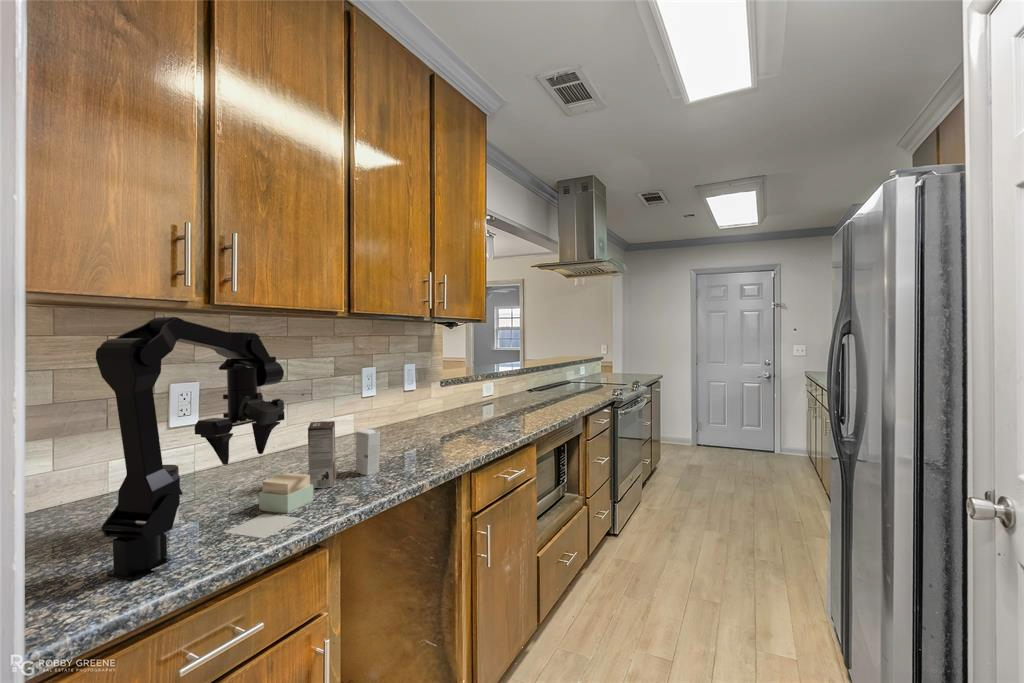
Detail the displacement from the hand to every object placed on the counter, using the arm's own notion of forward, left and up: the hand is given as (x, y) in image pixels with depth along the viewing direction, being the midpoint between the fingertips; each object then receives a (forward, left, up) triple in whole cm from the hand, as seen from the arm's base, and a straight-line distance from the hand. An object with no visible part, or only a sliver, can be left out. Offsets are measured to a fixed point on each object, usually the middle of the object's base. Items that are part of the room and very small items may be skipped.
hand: (243, 459), depth 103 cm
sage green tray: (+6, -6, -12) cm, 15 cm away
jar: (-10, +13, -13) cm, 21 cm away
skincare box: (+35, -8, -13) cm, 38 cm away
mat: (-4, -10, -12) cm, 17 cm away
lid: (+6, -6, -8) cm, 12 cm away
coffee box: (+23, -2, -13) cm, 26 cm away
